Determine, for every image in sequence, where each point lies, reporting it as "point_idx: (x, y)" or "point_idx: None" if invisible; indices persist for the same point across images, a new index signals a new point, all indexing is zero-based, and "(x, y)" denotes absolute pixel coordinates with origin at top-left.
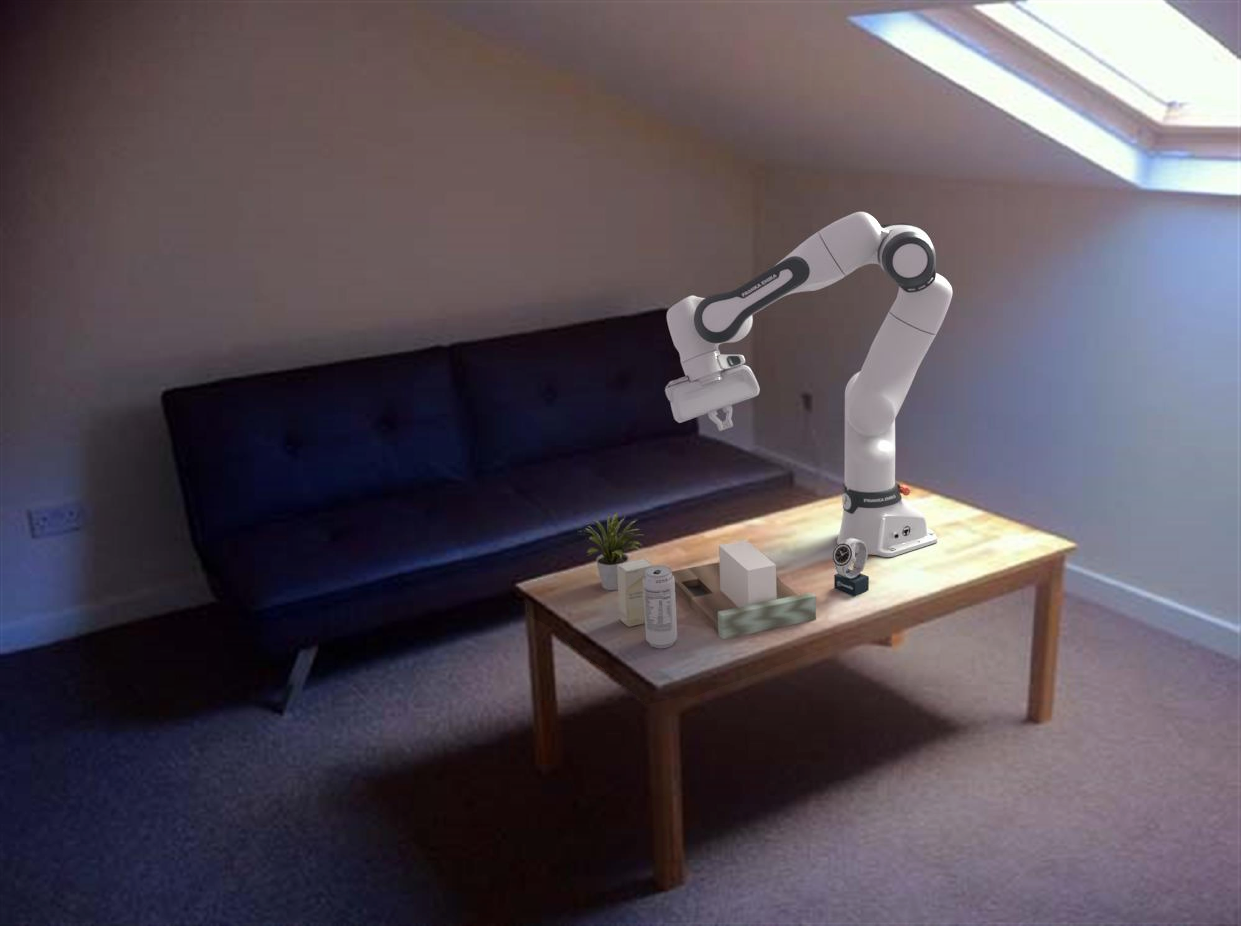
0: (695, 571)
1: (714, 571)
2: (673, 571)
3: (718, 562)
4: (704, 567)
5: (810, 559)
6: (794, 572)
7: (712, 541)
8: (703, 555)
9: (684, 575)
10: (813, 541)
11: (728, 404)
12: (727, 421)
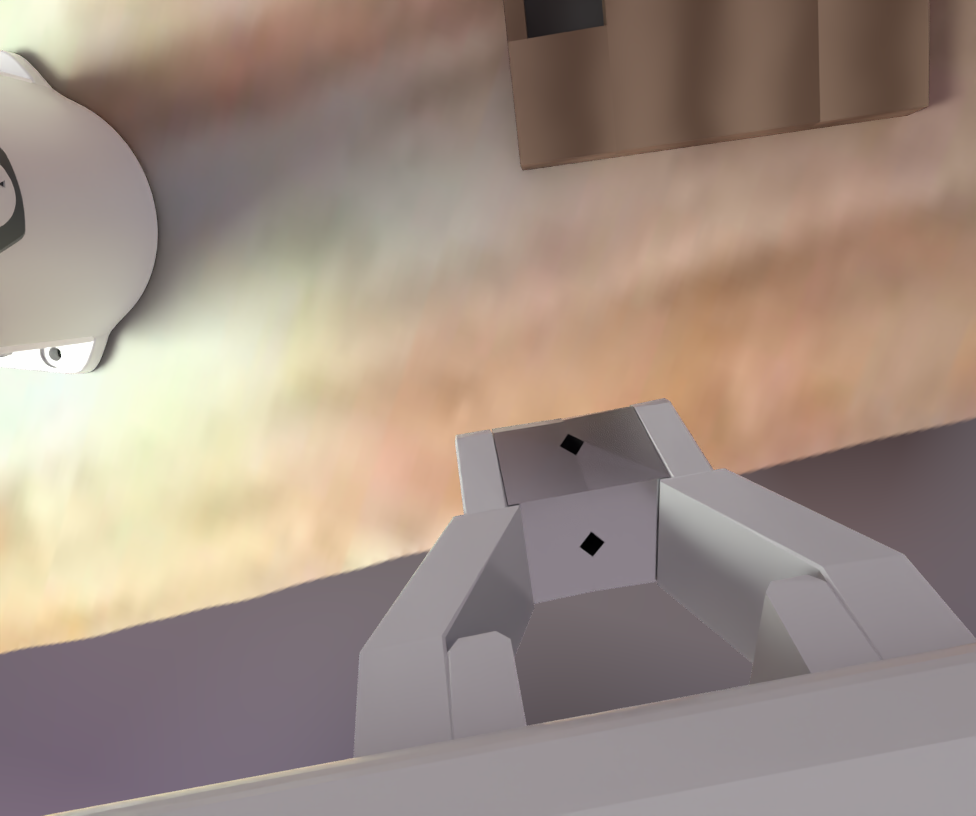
0: (802, 74)
1: (723, 46)
2: (894, 106)
3: (672, 140)
4: (749, 105)
5: (293, 141)
6: (388, 33)
7: None
8: (671, 323)
9: (864, 45)
10: (234, 307)
11: (439, 748)
12: (542, 478)
